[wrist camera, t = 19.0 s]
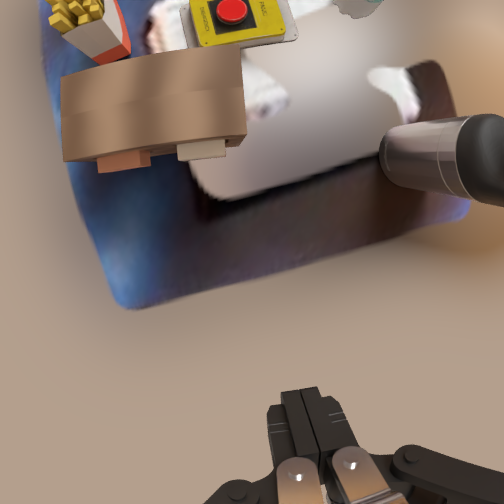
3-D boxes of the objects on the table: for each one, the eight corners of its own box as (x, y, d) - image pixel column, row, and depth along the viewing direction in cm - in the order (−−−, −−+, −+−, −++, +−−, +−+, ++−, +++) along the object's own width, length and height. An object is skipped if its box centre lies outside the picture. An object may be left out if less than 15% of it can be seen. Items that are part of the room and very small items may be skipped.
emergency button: (174, -7, 30) (287, -25, 30) (178, 7, 34) (282, -10, 34) (188, 49, 32) (306, 29, 33) (191, 60, 37) (299, 40, 37)
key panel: (233, 87, 38) (239, 43, 22) (238, 146, 40) (247, 133, 24) (114, 104, 37) (60, 77, 21) (118, 161, 39) (63, 162, 24)
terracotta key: (147, 129, 31) (137, 124, 27) (151, 165, 32) (140, 165, 28) (110, 136, 31) (94, 132, 27) (113, 171, 32) (98, 173, 28)
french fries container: (122, 2, 32) (78, -63, 15) (138, 58, 35) (90, 1, 18) (93, 15, 32) (39, -42, 15) (107, 71, 35) (45, 26, 18)
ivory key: (222, 119, 32) (222, 112, 27) (225, 156, 33) (225, 155, 28) (180, 124, 31) (174, 118, 27) (183, 161, 32) (178, 160, 28)
